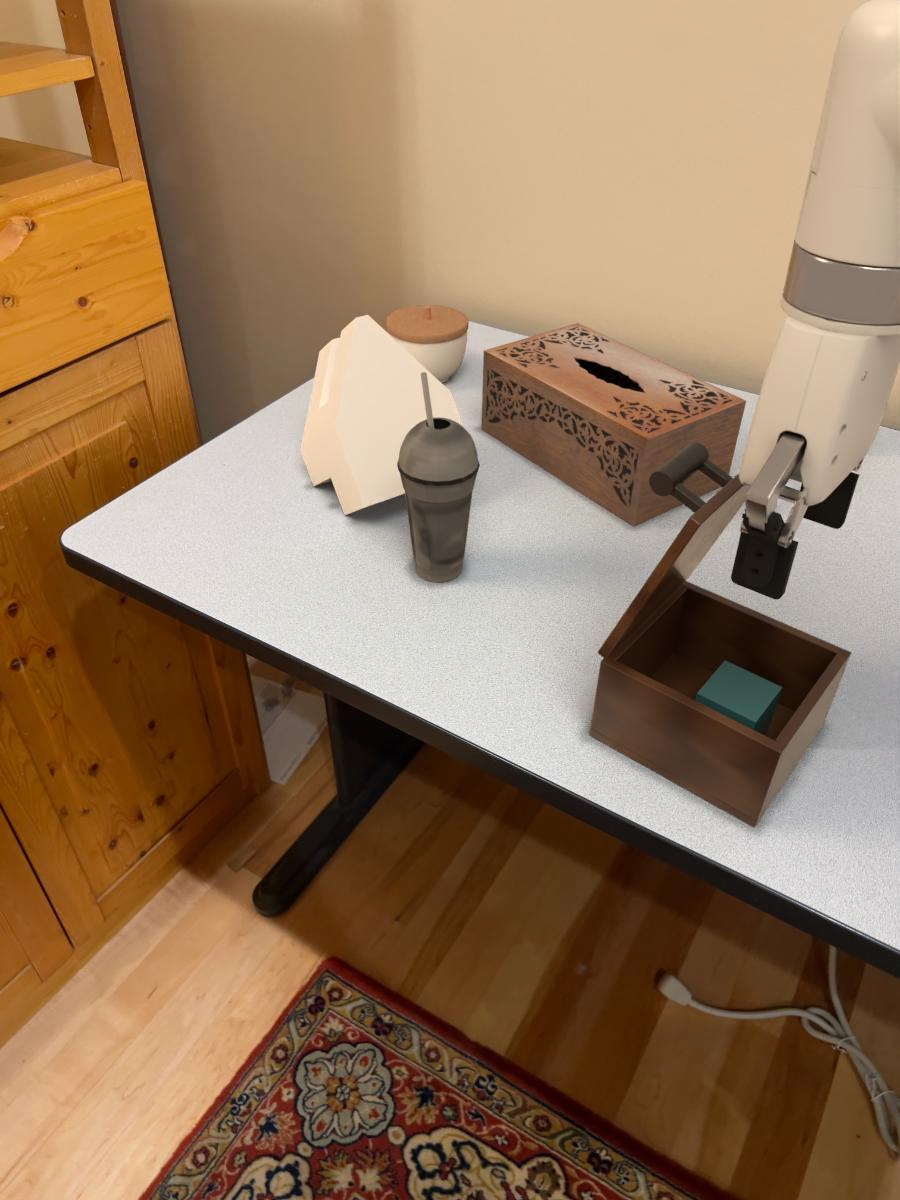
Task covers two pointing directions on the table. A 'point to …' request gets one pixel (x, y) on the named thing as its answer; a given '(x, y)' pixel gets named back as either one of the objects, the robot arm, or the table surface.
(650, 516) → the tissue box cover
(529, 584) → the table surface
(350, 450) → the slotted wedge
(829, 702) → the chest
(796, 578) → the table surface
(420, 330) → the trinket box
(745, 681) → the block
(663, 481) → the lid
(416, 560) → the beverage cup
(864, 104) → the robot arm
